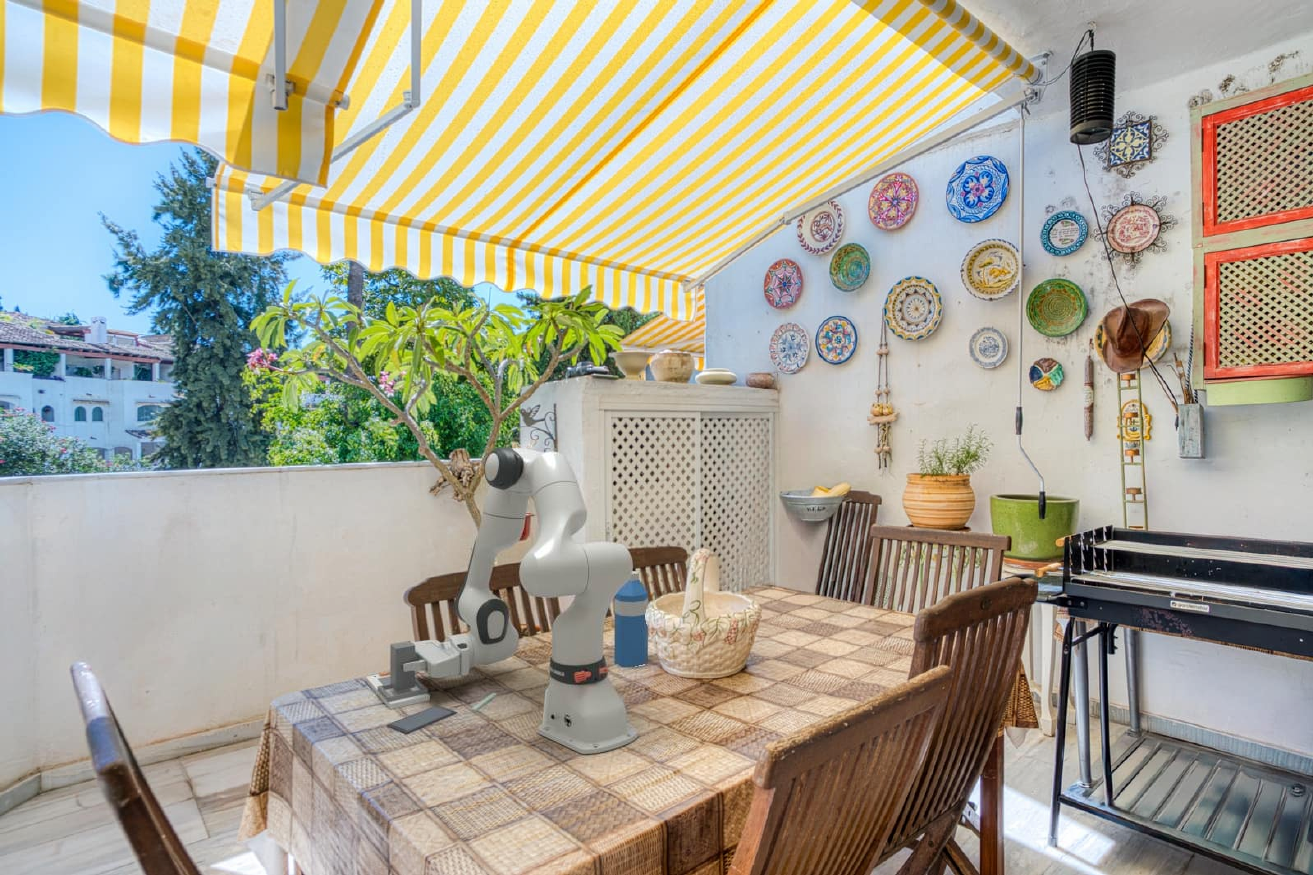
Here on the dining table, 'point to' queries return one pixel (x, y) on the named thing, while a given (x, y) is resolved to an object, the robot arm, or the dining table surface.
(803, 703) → the dining table surface
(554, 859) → the dining table surface
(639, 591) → the water bottle
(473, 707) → the pale green stick
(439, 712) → the phone
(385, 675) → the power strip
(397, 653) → the grey rectangular block
